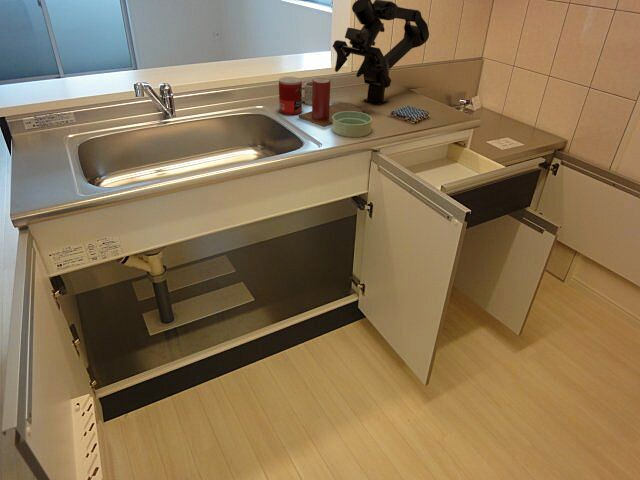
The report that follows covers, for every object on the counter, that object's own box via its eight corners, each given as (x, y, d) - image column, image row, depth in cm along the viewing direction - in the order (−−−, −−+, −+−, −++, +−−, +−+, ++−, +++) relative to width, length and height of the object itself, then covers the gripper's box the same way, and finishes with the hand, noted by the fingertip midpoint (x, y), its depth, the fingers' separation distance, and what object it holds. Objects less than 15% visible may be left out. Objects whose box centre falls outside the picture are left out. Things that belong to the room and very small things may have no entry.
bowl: (349, 121, 148) (350, 108, 146) (378, 131, 141) (380, 118, 139) (323, 130, 141) (324, 117, 138) (353, 142, 134) (354, 128, 131)
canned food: (299, 116, 152) (298, 83, 146) (276, 113, 153) (275, 81, 147) (304, 108, 158) (304, 77, 152) (282, 107, 159) (281, 75, 153)
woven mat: (388, 116, 153) (388, 110, 152) (405, 110, 160) (406, 104, 159) (412, 124, 148) (413, 118, 146) (430, 117, 154) (431, 111, 153)
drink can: (324, 113, 150) (326, 77, 143) (332, 119, 146) (333, 81, 139) (309, 115, 148) (309, 78, 141) (316, 121, 144) (316, 83, 137)
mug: (321, 99, 167) (322, 81, 164) (322, 105, 162) (323, 87, 158) (295, 99, 167) (295, 81, 163) (295, 105, 161) (295, 86, 158)
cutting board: (339, 106, 162) (340, 102, 161) (365, 114, 155) (365, 110, 154) (298, 119, 149) (298, 115, 148) (323, 129, 142) (324, 124, 141)
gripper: (337, 13, 147) (314, 54, 146) (383, 21, 137) (359, 64, 136) (350, 36, 156) (329, 74, 156) (394, 44, 146) (371, 84, 146)
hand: (346, 73), depth 148 cm, fingers open, 9 cm apart
